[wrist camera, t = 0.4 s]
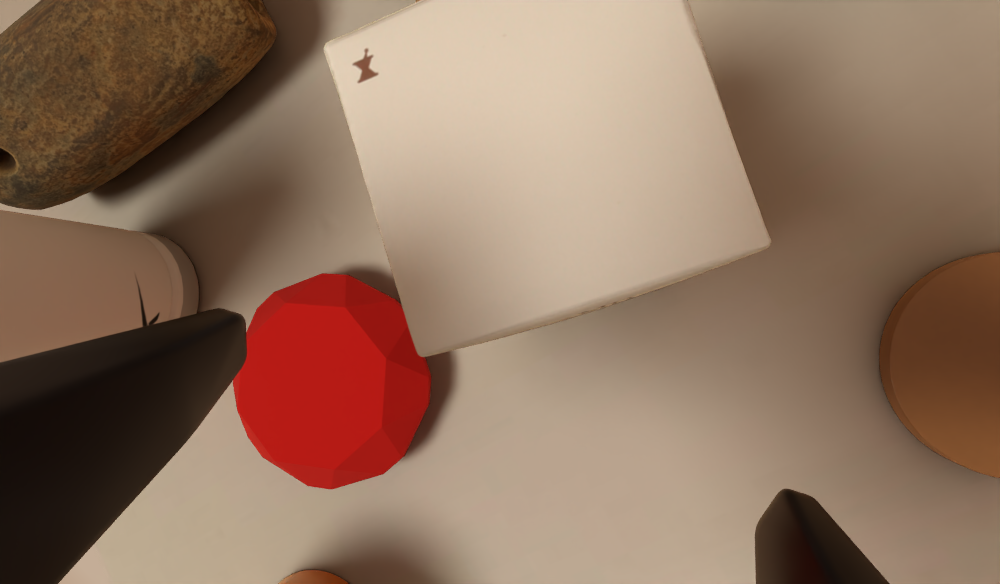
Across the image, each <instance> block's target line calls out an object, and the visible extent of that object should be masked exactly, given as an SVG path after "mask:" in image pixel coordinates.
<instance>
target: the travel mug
mask: <svg viewBox="0 0 1000 584" xmlns="http://www.w3.org/2000/svg"><path fill="white" fill-rule="evenodd" d="M198 303H199V286H198V279H197V276H196V273H195V270H194V267H193V265H192V263H191V261H190V259H189V258H188V256H187V255H186V254H185V253H184V251H183V250H182V249H181V248H180V247H179V246H178V245H177V244H175V243H174V242H173V241H171V240H169V239H167V238H165V237H163V236H160V235H155V234H150V233H144V232H138V231H128V230H124V229H118V228H112V227H106V226H99V225H93V224H86V223H80V222H74V221H67V220H61V219H54V218H48V217H42V216H35V215H29V214H22V213H16V212H10V211H3V210H0V362H4V361H8V360H12V359H16V358H20V357H24V356H28V355H32V354H36V353H40V352H44V351H48V350H52V349H56V348H60V347H64V346H68V345H72V344H76V343H80V342H84V341H88V340H92V339H96V338H100V337H104V336H108V335H112V334H116V333H120V332H124V331H128V330H132V329H136V328H140V327H144V326H148V325H152V324H157V323H161V322H165V321H169V320H173V319H177V318H181V317H185V316H189V315H193V314H197V309H198Z"/></svg>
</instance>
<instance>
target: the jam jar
mask: <svg viewBox="0 0 1000 584" xmlns="http://www.w3.org/2000/svg"><path fill="white" fill-rule="evenodd" d="M278 584H349V583H347V582H346V581H345V580H343V579H342V578H340V577H338V576H336V575H334V574H331V573H328V572H325V571H319V570H305V571H300V572H297V573H294V574H291V575H289V576H288V577H286V578H284V579H283V580H282V581H280V582H279V583H278Z"/></svg>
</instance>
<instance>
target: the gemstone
mask: <svg viewBox="0 0 1000 584" xmlns="http://www.w3.org/2000/svg"><path fill="white" fill-rule="evenodd" d="M246 339H247V357H246V361H245V363H244V365H243V367H242V368H241V370H240V371H239V372H238V374H237V375H236V377H235V378H234V379H233V386H234V392H235V399H236V405H237V410H238V413H239V415H240V418H241V420H242V423H243V426H244V428H245V431H246V433H247V436H248V438H249V439H250V440H251V442H252V443H253V445H254V446H255V447H256V449H257V450H258V451H259V453H260V454H261V456H262V457H263V458H265V459H266V460H268V461H269V462H271V463H273V464H274V465H276V466H277V467H279V468H281V469H282V470H284V471H285V472H287V473H288V474H290V475H292V476H293V477H295V478H296V479H298V480H300V481H301V482H303V483H304V484H306V485H307V486H313V487H319V488H326V489H334V488H338V487H341V486H345V485H348V484H351V483H355V482H358V481H361V480H365V479H368V478H372V477H375V476H378V475H382V474H384V473H385V472H386V471H388V470H389V469H390V468H391V467H392V466H393V465H394V464H396V463H397V462H398V461H399V460H400V459H401V458H402V457H404V456H405V454H406V452H407V450H408V447H409V445H410V443H411V441H412V439H413V437H414V435H415V433H416V431H417V429H418V427H419V424H420V422H421V420H422V418H423V416H424V414H425V412H426V410H427V408H428V406H429V404H430V389H431V374H430V371H429V368H428V365H427V361H426V358H425V357H421V356H420V355H418V353H417V351H416V349H415V346H414V343H413V340H412V337H411V334H410V331H409V327H408V324H407V321H406V317H405V314H404V311H403V308H402V306H401V304H400V303H399V302H398V301H397V300H396V299H394V298H392V297H390V296H388V295H386V294H384V293H382V292H380V291H378V290H377V289H375V288H373V287H371V286H369V285H367V284H365V283H363V282H361V281H359V280H358V279H356V278H354V277H352V276H350V275H340V274H323V273H322V274H320V275H317V276H314V277H312V278H309V279H307V280H304V281H302V282H299V283H296V284H294V285H291V286H289V287H286V288H283V289H281V290H278V291H276V292H274V293H273V294H272V295H271V296H270V297H269V298H267V299H266V300H265V301H264V302H263V303H262V304H261V305H260V306H259V307H258V308H257V310H256V312H255V314H254V317H253V319H252V321H251V323H250V326H249V328H248V330H247V332H246Z"/></svg>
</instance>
